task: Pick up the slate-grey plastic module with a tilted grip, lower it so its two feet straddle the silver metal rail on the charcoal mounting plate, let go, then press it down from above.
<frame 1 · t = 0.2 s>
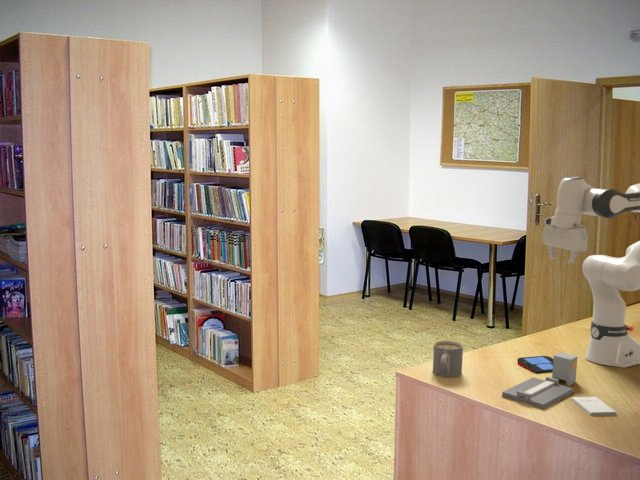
hand: (561, 261, 240), 39 cm above the table, tool pointing down, fingers open, 8 cm apart
module: (563, 381, 230), on the table
coffee mug: (445, 374, 236), on the table
game console: (541, 368, 246), on the table
external hard drive: (593, 409, 208), on the table
rail mount: (537, 394, 218), on the table
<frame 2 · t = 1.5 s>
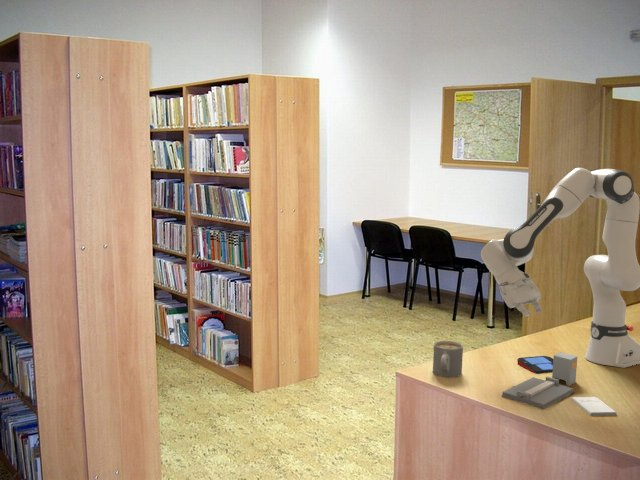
hand: (534, 313, 236), 21 cm above the table, tool tilted 45°, fingers open, 8 cm apart
nothing on the table moved.
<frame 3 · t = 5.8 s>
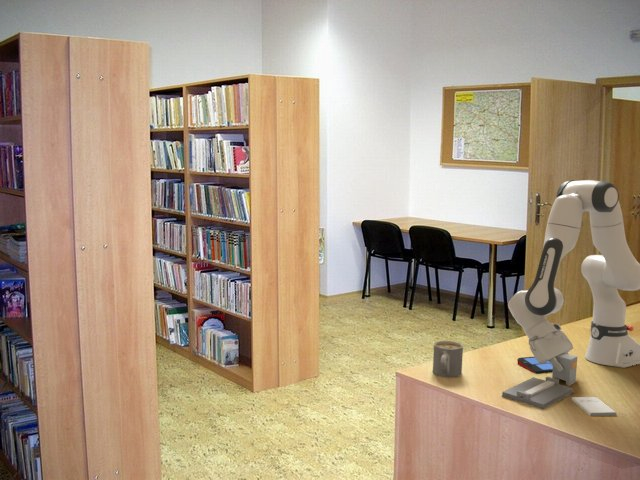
hand: (566, 368, 229), 5 cm above the table, tool tilted 45°, fingers closed on module, 5 cm apart
module: (563, 381, 230), on the table, touching gripper
everything else where it was.
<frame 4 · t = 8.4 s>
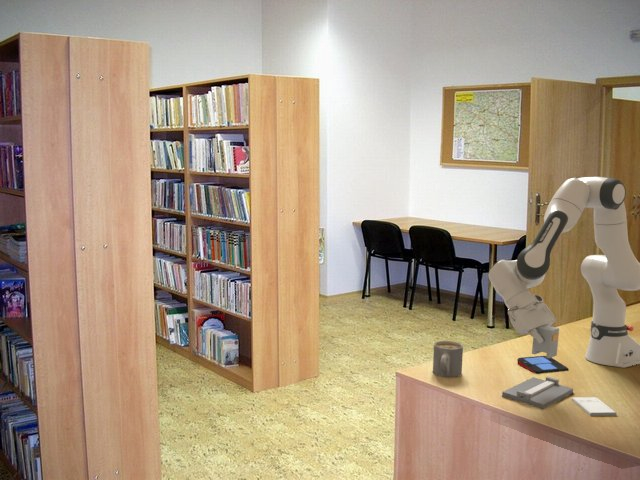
hand: (547, 340, 217), 17 cm above the table, tool tilted 45°, fingers closed on module, 5 cm apart
module: (544, 354, 218), point 13 cm above the table, touching gripper
everything else where it was.
when the fingers open (7 cm above the table, at t = 10.9 s): module stays where it is, resting on rail mount.
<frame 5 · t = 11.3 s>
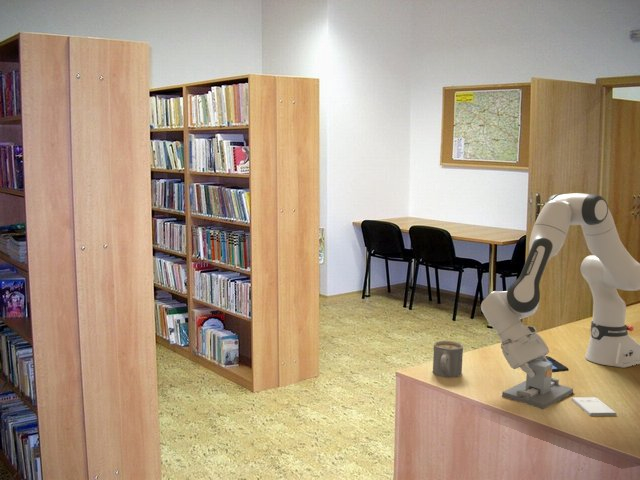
hand: (541, 373, 216), 7 cm above the table, tool tilted 45°, fingers open, 8 cm apart
module: (538, 390, 218), point 1 cm above the table, touching rail mount
everything else where it was.
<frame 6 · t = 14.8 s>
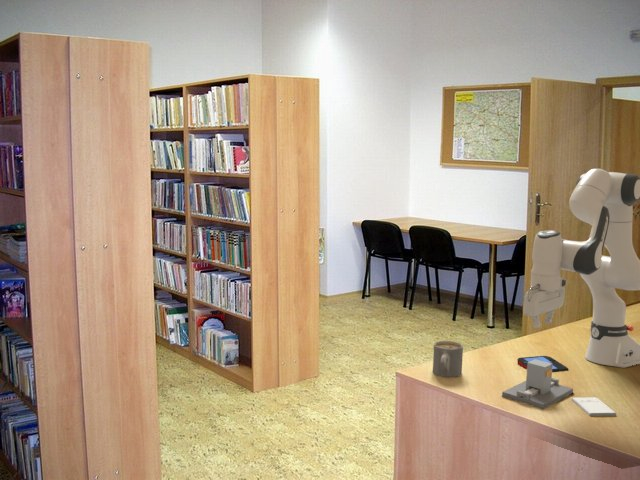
hand: (542, 325, 214), 23 cm above the table, tool pointing down, fingers open, 6 cm apart
nothing on the table moved.
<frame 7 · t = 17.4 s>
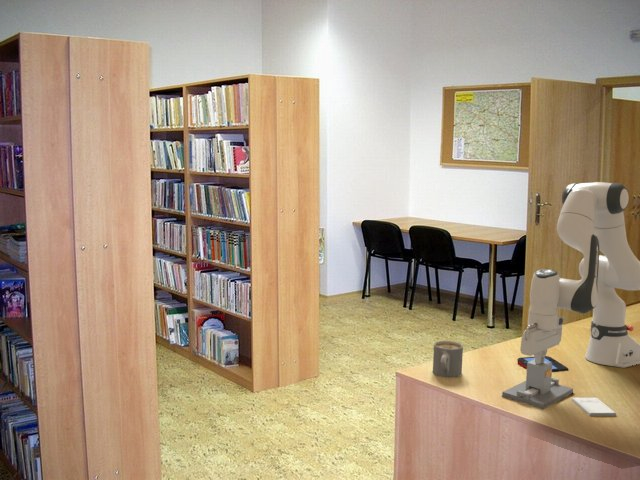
hand: (539, 363, 216), 11 cm above the table, tool pointing down, fingers closed, pressing on module
module: (538, 389, 218), point 2 cm above the table, touching gripper, rail mount
everything else where it was.
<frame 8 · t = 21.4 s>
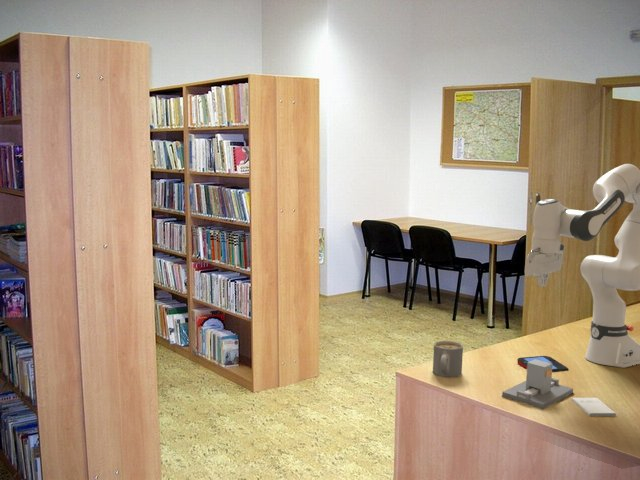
hand: (542, 286, 234), 31 cm above the table, tool pointing down, fingers closed
module: (538, 390, 218), point 1 cm above the table, touching rail mount
everything else where it was.
at the end: module 0.1 cm from the rail mount (horizontally); module point 1.5 cm above the table; module tilted 0° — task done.
